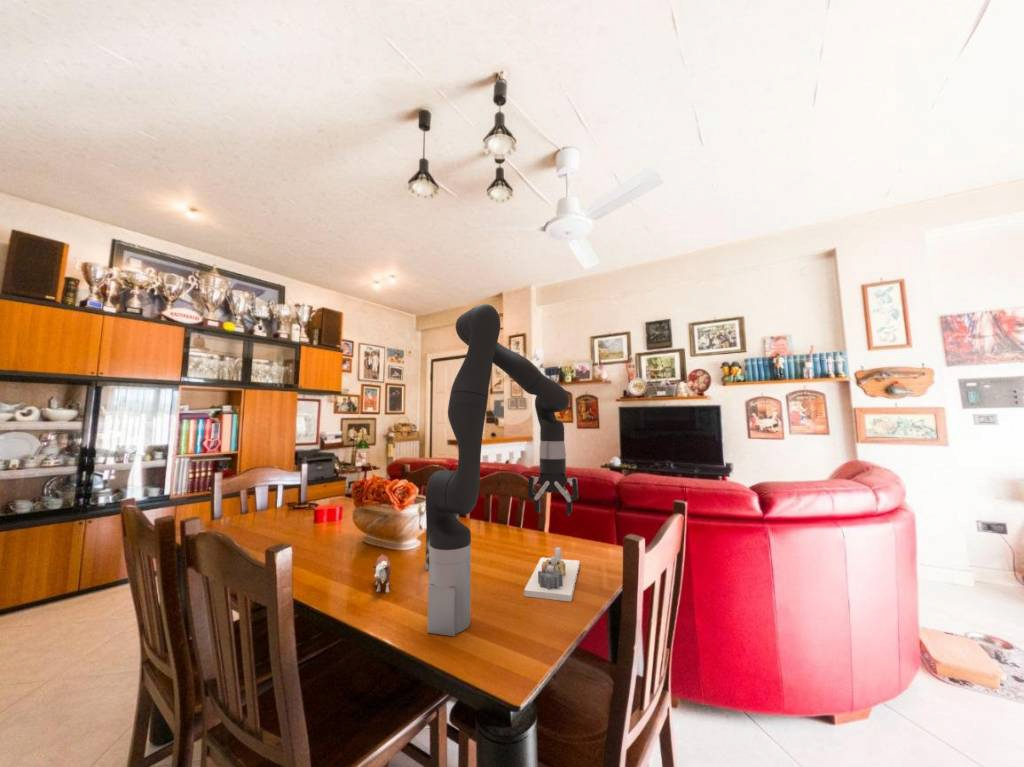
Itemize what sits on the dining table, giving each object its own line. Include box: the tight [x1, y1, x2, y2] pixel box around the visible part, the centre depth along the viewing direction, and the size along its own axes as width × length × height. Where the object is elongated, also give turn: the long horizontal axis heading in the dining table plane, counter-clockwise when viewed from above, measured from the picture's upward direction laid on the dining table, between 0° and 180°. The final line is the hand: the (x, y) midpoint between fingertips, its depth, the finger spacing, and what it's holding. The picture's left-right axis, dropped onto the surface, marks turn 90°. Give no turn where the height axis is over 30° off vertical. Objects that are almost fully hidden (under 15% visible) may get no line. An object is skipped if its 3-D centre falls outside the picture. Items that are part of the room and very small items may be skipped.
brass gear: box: [543, 559, 566, 576], centre depth 107 cm, size 6×6×3 cm
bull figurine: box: [373, 554, 392, 594], centre depth 102 cm, size 4×13×8 cm, turn 15°
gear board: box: [523, 546, 581, 603], centre depth 107 cm, size 24×12×6 cm, turn 165°
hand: (553, 514), depth 109 cm, fingers open, 8 cm apart
